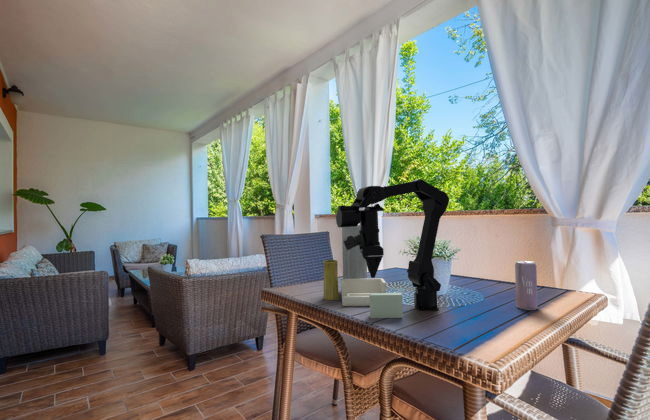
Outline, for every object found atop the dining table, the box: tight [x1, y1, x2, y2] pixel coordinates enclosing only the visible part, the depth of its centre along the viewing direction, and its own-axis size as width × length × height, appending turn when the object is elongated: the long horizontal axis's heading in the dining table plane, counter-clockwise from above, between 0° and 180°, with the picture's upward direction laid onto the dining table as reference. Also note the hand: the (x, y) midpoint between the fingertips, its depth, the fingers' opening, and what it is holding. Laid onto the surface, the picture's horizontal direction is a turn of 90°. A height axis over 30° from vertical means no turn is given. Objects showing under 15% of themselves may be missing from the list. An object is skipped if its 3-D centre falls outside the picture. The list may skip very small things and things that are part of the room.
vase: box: [322, 259, 340, 301], centre depth 123 cm, size 6×6×14 cm
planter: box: [341, 224, 368, 279], centre depth 134 cm, size 10×10×27 cm
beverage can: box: [514, 260, 538, 311], centre depth 106 cm, size 6×6×15 cm
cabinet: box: [340, 277, 387, 307], centre depth 119 cm, size 16×13×7 cm
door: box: [369, 292, 403, 319], centre depth 100 cm, size 10×2×7 cm, turn 89°
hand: (371, 274), depth 103 cm, fingers open, 9 cm apart
